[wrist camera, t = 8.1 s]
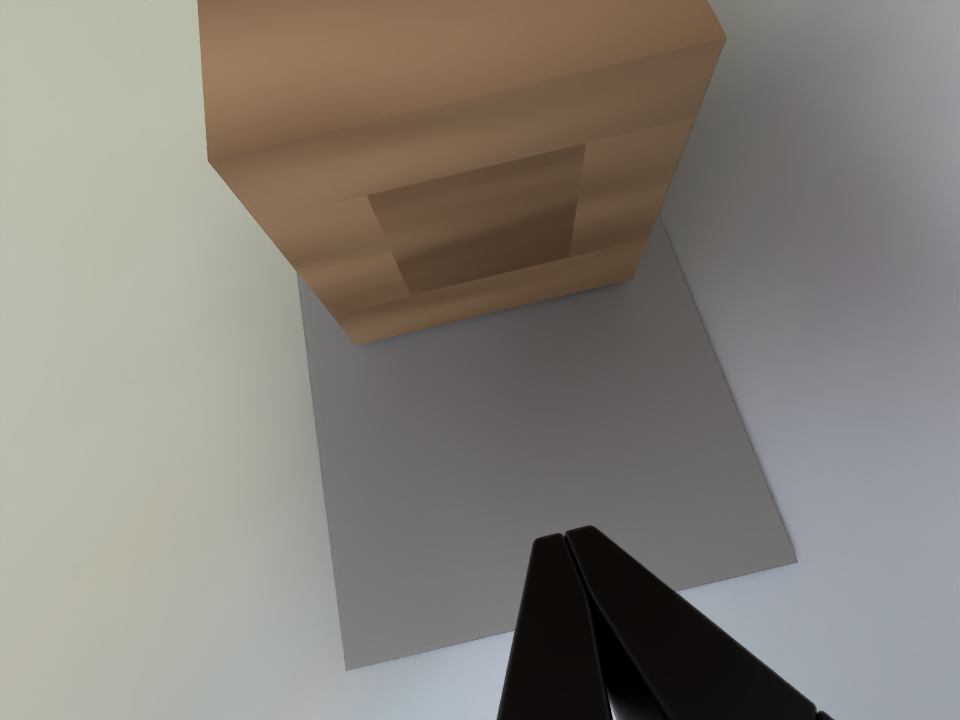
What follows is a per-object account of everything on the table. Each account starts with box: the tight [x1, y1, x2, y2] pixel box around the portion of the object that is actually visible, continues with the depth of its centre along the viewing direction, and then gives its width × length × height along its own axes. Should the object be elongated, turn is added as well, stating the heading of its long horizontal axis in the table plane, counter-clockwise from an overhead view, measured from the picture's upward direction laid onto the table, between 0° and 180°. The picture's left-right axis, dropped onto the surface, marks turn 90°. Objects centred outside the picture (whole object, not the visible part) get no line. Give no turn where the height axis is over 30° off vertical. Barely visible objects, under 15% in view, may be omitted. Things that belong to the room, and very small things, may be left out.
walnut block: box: [197, 0, 727, 345], centre depth 13 cm, size 8×8×8 cm
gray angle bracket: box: [297, 214, 798, 671], centre depth 13 cm, size 18×11×6 cm, turn 13°
